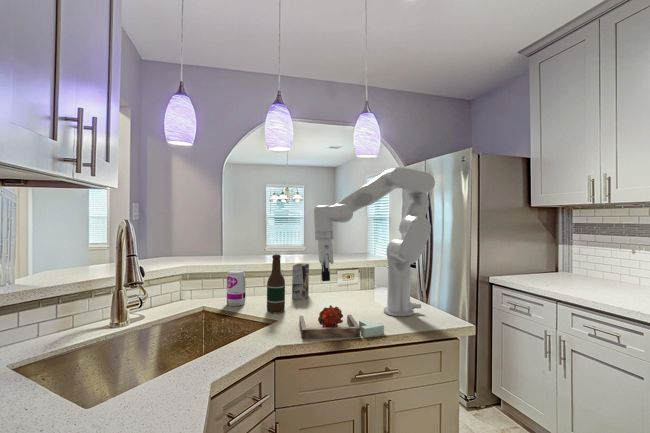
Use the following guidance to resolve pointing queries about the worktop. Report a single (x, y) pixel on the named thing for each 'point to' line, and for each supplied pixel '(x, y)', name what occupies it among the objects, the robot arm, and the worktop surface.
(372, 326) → the t block
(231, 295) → the supplement can
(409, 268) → the robot arm
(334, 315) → the dragon fruit
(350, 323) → the bay
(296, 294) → the coffee box
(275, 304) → the beer bottle
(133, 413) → the worktop surface
